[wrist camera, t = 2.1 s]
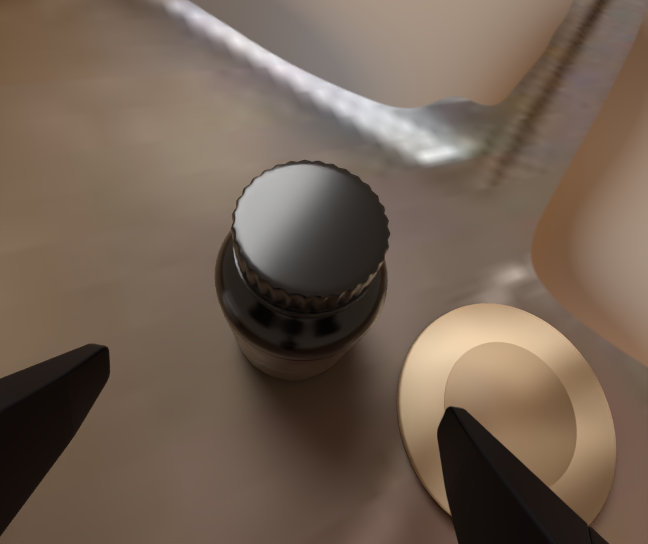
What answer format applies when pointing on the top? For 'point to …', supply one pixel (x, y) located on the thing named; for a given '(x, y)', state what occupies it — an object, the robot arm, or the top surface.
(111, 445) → the top surface
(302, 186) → the supplement bottle
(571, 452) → the beige round plate
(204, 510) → the top surface
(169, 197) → the top surface
